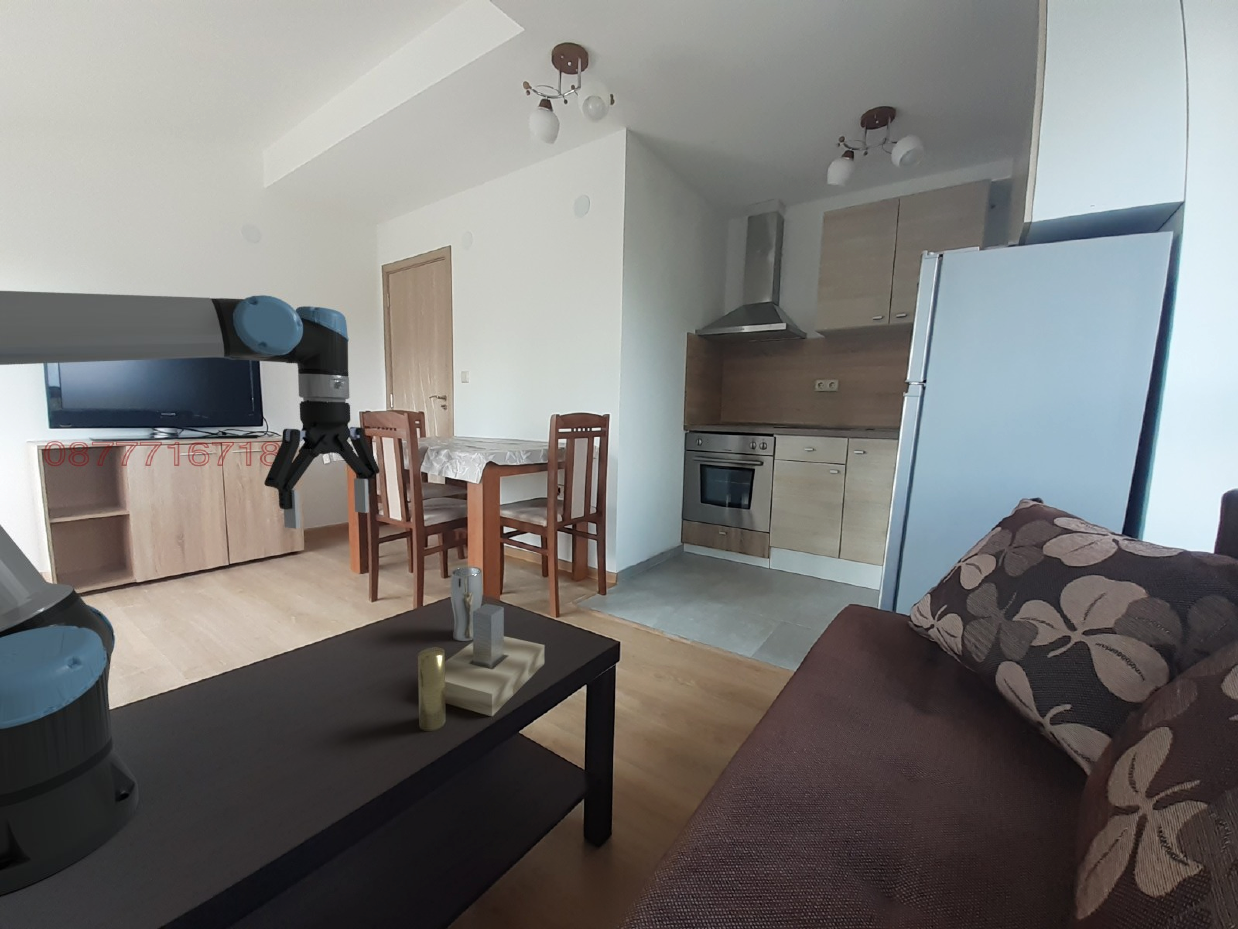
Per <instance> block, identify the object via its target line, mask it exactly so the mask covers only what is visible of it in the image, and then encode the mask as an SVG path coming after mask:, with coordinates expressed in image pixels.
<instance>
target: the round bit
mask: <svg viewBox="0 0 1238 929" xmlns="http://www.w3.org/2000/svg"><path fill="white" fill-rule="evenodd" d="M445 654H446V651H445V649H444V648H442V647H437V646H434V647H428V648H425V649H423V650H421V651H420V652H418V654H417V669H418V670H417V671H418V672H417V673H418V674H417V675H418V678H417V680H418V720H419V721H418V723H419V724H418V726H419V729H420V730H421V731H425V732H432V731H436V730H439V729H440V728H442V727H443V726H444V725H445V723H446V703H445V661H446V656H445Z"/></svg>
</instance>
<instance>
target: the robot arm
mask: <svg viewBox="0 0 1238 929" xmlns="http://www.w3.org/2000/svg"><path fill="white" fill-rule="evenodd" d="M348 336H349V334H348V326H347V320H346V317H345V315H344V314H343V313H342V312H340V311H339V310H336V309H332V308H326V307H321V306H310V305H309V306H307V305H305V306H303V305H302V306H299V307H297V308H295V309H294V307H292V306H291V305H290V304H289V303H288V302H286V301H284V300H282V298H281V299H280V298H278V297H275V296H271V295H264V294H263V295H261V294H260V295H251V296H249V297H245V298H226V297H223V298H222V297H221V298H217V297H216V298H215V297H214V298H213V297H212V298H211V297H202V296H201V297H195V296H191V297H190V296H173V295H172V296H168V295H165V296H164V295H140V294H139V295H138V294H111V293H109V294H107V293H104V294H103V293H79V292H78V293H77V292H72V293H71V292H53V291H51V292H49V291H48V292H47V291H24V290H23V291H22V290H21V291H20V290H19V291H17V290H0V366H5V365H6V366H7V365H8V366H9V365H34V364H38V365H39V364H40V365H41V364H60V363H61V364H62V363H90V362H91V363H95V362H117V361H145V360H146V361H148V360H151V361H152V360H171V359H172V360H173V359H175V360H176V359H202V358H204V359H205V358H207V359H208V358H222V359H228V360H231V361H236V360H241V361H242V360H243V361H252V362H253V361H255V362H256V361H257V362H271V363H286V364H295V365H297V374H298V375H297V376H298V379H297V381H298V397H300V398H302V399H303V400H301V401H300V402H299V419H300V421H301V424H302V428H301V430H300V429H298V428H284V429H282V438H281V444H280V446H279V448H278V450H277V453H276V455H275V457H274V459H273V462H272V464H271V466H270V469H269V472H267V473H268V474H267V476H266V478H265V479H264V482H263V483H264V485H265V486H266V487H269V488H274V489H277V490H278V491H277V492H278V506H279V508H280V510H283V520H284V521H283V522H284V523H283V524H284V527H285V528H289V529H294V530H298V529H301V510H300V509H301V508H300V490H299V488H294V487H295V486H296V485H297V483H298V482H299V481H300V479H301V478H302V476H303V475H304V474H305V473H306V471H307V470H308V468H309V467H310V465H312V462H313V461H314V459H315V458H317V457H319V455H328V454H338V455H339V456H340V457H341V458H342V459H343V460H344V461H345V463H346V464H347V466H349V468H350V469H351V470H352V471H353V473H355V475H356V476H357V477H355V478H353V486H354V490H353V492H354V512H356V513H364V514H368V513H370V504H369V495H370V494H371V492H372V491H371V490H372V489H371V479H374V478H375V477H376V475H377V474H379V473H380V468H379V465H378V464H377V461H376V459H375V457H374V455H373V453H372V452H373V451H372V450H371V449H370V446H369V444H368V442H367V440H366V434H365V429H364V427H361V426H360V427H359V426H350V427H349V423H350V422H351V404H350V403H349V402H347V400H349V399H350V377H349V341H350V340H349V337H348ZM349 439H350V442H351V444H350V443H349V441H348V440H349ZM302 441H303V442H304V443H303V444H302V445H301V446H300V443H301V442H302ZM299 447H300V448H299ZM297 452H298V454H297ZM296 454H297V455H296ZM115 643H116V637H115V631H114V627H113V625H112V623H111V622H110V620H109V619H108V617H107V616H106V615H105V614H104V613H103V612H102V611H100V610H99V609H97V608H96V607H94V606H91V605H89V604H87V603H86V602H85V601H84V600H83V599H82V597H81V596H80V595H79V594H78V592H77V591H76V589H74V587H73V586H72V585H70V584H63V583H53V582H50V581H49V582H48V581H47V580H46V579H45V577H43V575H42V574H41V572H39V570H38V569H37V567H36V566H35V565H34V564H33V563H32V562H31V560H30V559H29V558H28V557H27V556H26V554H25V553H24V552H23V551H22V549H21V548H20V547H19V545H18V544H17V543H16V542H15V540H14V539H13V538H12V537H11V536H10V535H9V533H8V532H7V531H6V530H5V529H4V527H3V526H2V525H1V524H0V896H2V895H5V894H8V893H11V892H13V891H14V892H15V891H18V890H19V889H22V888H25V887H27V886H30V885H33V884H34V883H37V882H40V881H41V880H43V879H46V878H48V877H50V876H53V875H54V874H56V873H58V872H60V871H62V870H64V869H66V868H67V867H69V866H71V865H73V864H74V863H77V862H78V861H80V860H81V859H83V858H84V857H86V856H87V855H89V854H91V853H92V852H93V851H95V850H97V849H98V848H99V847H101V846H102V845H103V844H104V843H106V842H107V841H109V840H110V839H111V838H113V836H114V835H116V834H117V833H118V832H119V831H120V830H121V829H122V828H123V827H124V826H125V825H126V824H127V823H128V822H129V820H130V819H131V818H132V816H133V815H134V814H135V811H136V810H137V808H138V805H139V801H140V800H139V789H138V788H139V786H138V782H137V779H136V777H135V776H134V774H133V773H132V772H131V770H130V769H129V767H128V766H127V764H126V763H125V762H124V761H123V760H122V758H121V757H120V755H119V754H118V752H117V751H116V750H115V748H114V743H113V733H112V722H111V721H112V720H111V709H110V702H109V701H110V699H109V680H110V679H109V678H110V677H109V676H110V668H111V663H112V654H113V652H114V649H115Z"/></svg>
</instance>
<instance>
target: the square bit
mask: <svg viewBox="0 0 1238 929" xmlns="http://www.w3.org/2000/svg"><path fill="white" fill-rule="evenodd" d="M504 612H505V607H503V606H500V605H495V604H489V603H484V604H483V605H481V607H480V608H478V609H477V610H475V611H473V640H472V642H473V665H476V666H480V667H484V668H488V669H492V670H493V669H494V668H495V667H496V666H497V665H499V664H500V663H501V662H502V661H503V660H504V636H505V635H504V634H505V633H504V632H505V631H504V627H505V623H504V622H505V619H504V618H505V617H504V616H505V613H504Z"/></svg>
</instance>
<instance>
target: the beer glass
mask: <svg viewBox="0 0 1238 929" xmlns="http://www.w3.org/2000/svg"><path fill="white" fill-rule="evenodd" d="M483 583H484V582H483V569H482V568H480V567H477V566H462V567H461V566H460V567H458V568H455V569H453V570H451V573H450V590H449V591H450V592H449V593H450V600H451V607H452V611H453V612H452V613H453V617H454V628H453V632H452V633H453V634H452V637H453V639H454V641H455V640H456V641H459V642H470V641H473V611H475V610H477V609H478V608H480V607H481V606H482V602H483V596H484V595H483V594H484V584H483Z"/></svg>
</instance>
